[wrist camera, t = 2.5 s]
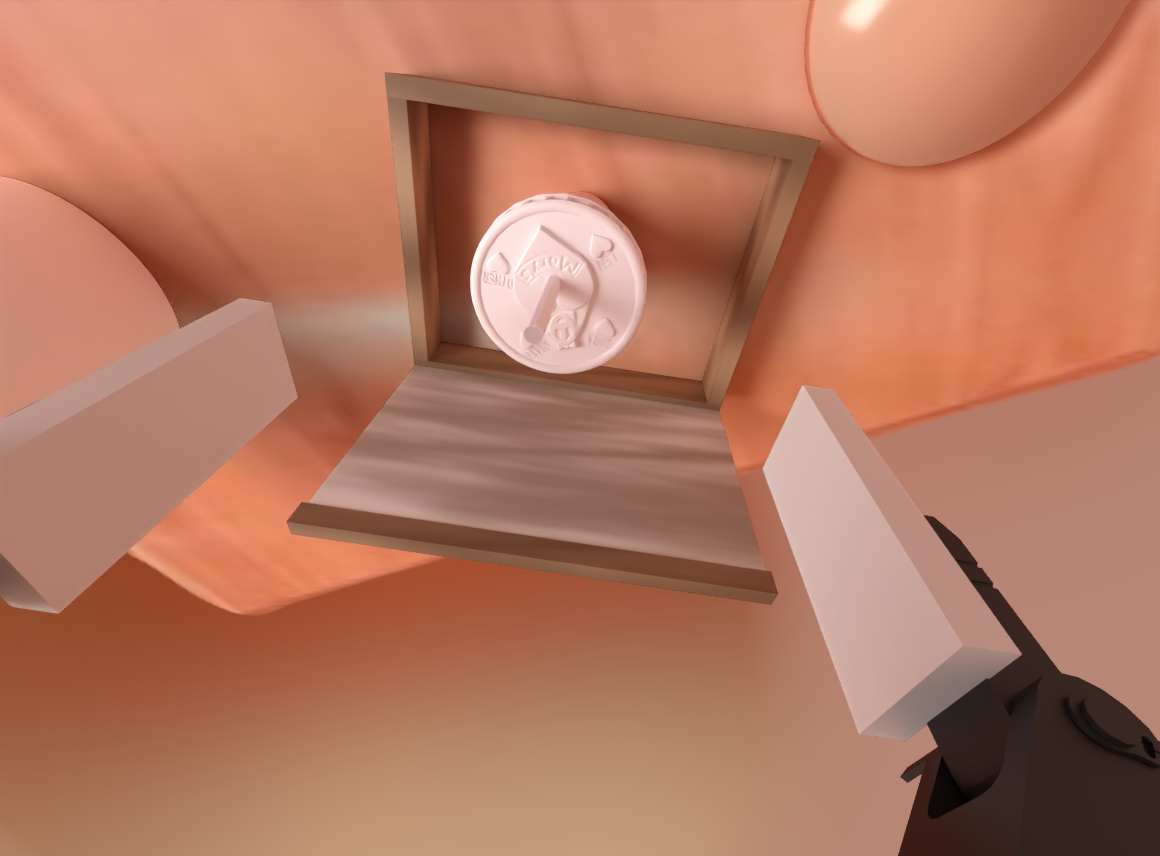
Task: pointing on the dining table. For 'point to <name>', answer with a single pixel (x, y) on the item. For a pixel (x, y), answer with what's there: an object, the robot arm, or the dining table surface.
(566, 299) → the smoothie
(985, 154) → the dining table surface
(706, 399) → the box
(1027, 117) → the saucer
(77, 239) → the canister
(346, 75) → the dining table surface
